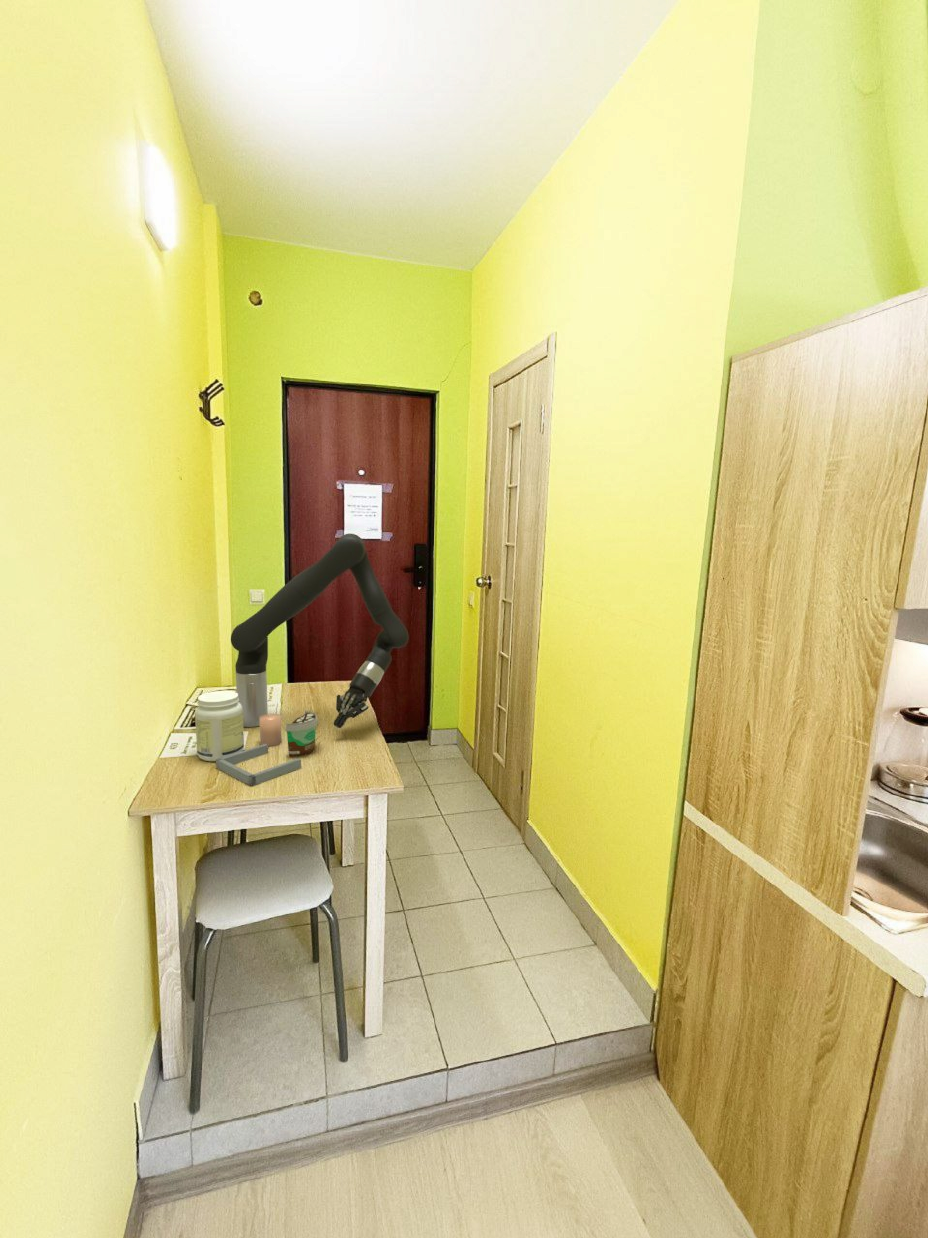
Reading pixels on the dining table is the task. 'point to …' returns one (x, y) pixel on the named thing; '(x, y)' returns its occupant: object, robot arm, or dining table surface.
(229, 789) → the dining table surface
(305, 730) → the food container
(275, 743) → the peach rounded cylinder
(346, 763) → the dining table surface
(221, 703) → the supplement tub
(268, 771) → the frame
